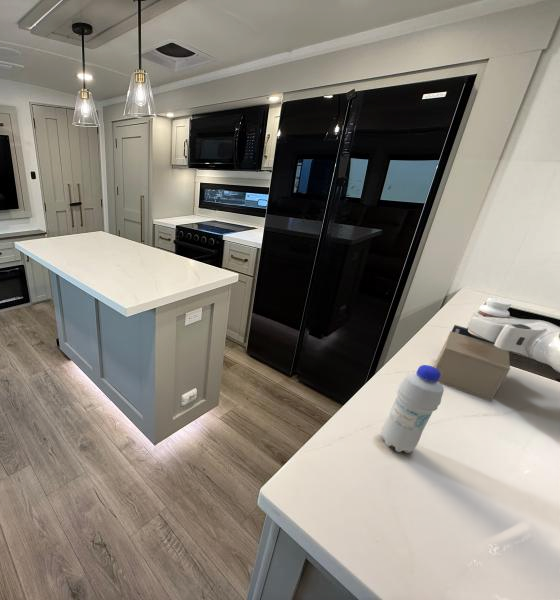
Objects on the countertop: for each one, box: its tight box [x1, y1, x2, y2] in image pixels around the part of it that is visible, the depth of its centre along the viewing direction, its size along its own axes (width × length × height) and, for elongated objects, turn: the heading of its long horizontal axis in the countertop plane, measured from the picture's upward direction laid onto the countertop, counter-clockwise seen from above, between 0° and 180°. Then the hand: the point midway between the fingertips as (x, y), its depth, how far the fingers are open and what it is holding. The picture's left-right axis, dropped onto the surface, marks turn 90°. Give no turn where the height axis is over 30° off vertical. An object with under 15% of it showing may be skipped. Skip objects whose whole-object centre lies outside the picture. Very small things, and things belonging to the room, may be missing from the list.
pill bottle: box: [468, 297, 512, 339], centre depth 89 cm, size 6×6×11 cm
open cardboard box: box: [433, 330, 511, 402], centre depth 88 cm, size 15×13×11 cm
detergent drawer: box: [451, 324, 495, 344], centre depth 96 cm, size 18×11×9 cm, turn 134°
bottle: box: [380, 364, 445, 454], centre depth 63 cm, size 7×7×20 cm
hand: (488, 315), depth 89 cm, fingers closed on pill bottle, 6 cm apart
